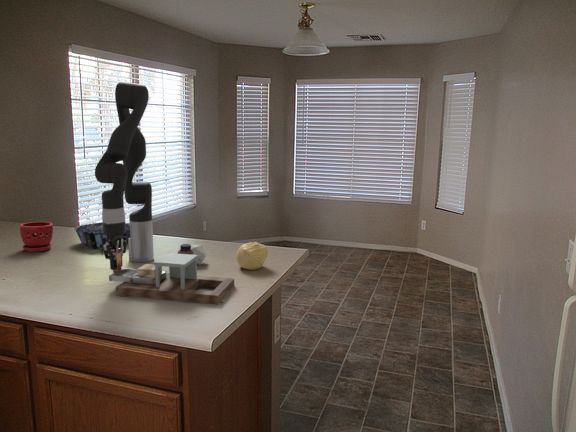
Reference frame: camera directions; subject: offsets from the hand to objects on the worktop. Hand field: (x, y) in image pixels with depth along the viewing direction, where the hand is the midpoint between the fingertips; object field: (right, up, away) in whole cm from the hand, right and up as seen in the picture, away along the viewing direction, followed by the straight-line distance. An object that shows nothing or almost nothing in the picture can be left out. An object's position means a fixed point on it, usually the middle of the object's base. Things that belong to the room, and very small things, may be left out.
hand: (116, 267), depth 169 cm
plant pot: (-53, +3, +48) cm, 71 cm away
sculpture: (+46, -3, +26) cm, 53 cm away
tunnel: (+22, -5, -3) cm, 23 cm away
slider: (+8, -4, -1) cm, 8 cm away
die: (+22, -2, +30) cm, 38 cm away
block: (+12, -4, -2) cm, 13 cm away
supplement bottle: (+21, -4, +18) cm, 28 cm away
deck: (+22, -8, -3) cm, 24 cm away
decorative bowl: (-27, +5, +60) cm, 66 cm away
